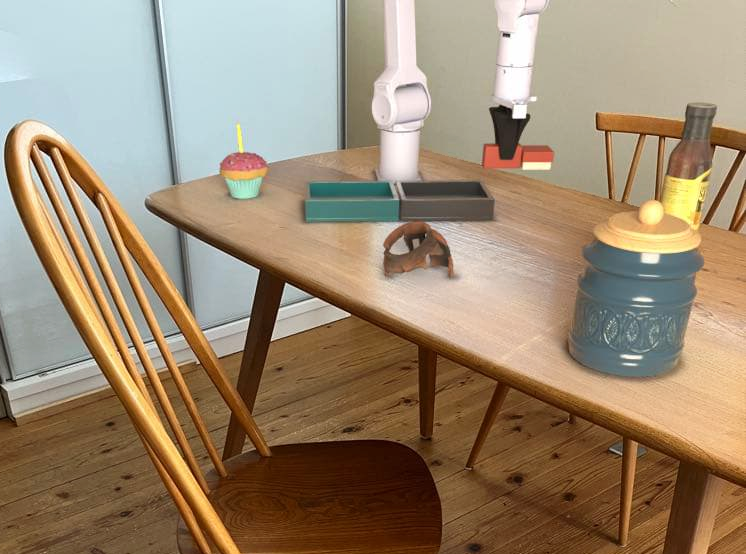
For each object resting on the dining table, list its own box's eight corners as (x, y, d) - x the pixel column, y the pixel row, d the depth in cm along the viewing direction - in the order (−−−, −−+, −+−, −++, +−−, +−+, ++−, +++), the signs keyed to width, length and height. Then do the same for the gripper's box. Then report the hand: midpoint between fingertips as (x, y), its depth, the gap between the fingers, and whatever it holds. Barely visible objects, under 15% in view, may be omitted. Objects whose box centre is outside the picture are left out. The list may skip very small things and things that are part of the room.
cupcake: (214, 191, 161) (209, 118, 153) (259, 186, 163) (256, 114, 156) (230, 204, 154) (225, 129, 147) (277, 198, 157) (274, 124, 150)
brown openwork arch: (464, 288, 124) (444, 242, 118) (401, 316, 127) (378, 272, 121) (449, 238, 132) (429, 193, 126) (389, 266, 134) (367, 222, 128)
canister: (596, 324, 113) (623, 177, 103) (697, 352, 107) (736, 198, 96) (545, 358, 105) (569, 202, 95) (651, 390, 98) (688, 226, 88)
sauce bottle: (695, 255, 134) (730, 110, 122) (652, 252, 135) (682, 108, 123) (690, 242, 139) (723, 101, 127) (649, 239, 140) (677, 99, 128)
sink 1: (305, 201, 156) (304, 181, 154) (392, 201, 156) (392, 180, 154) (305, 222, 147) (305, 200, 145) (398, 221, 147) (399, 199, 145)
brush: (480, 163, 151) (482, 141, 148) (545, 163, 151) (548, 141, 149) (485, 170, 147) (487, 148, 145) (551, 170, 147) (554, 148, 145)
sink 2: (394, 201, 156) (395, 180, 154) (480, 200, 157) (482, 179, 155) (400, 221, 147) (401, 199, 145) (492, 220, 148) (494, 199, 146)
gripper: (551, 72, 134) (538, 168, 142) (530, 57, 146) (519, 146, 154) (504, 72, 134) (494, 168, 142) (486, 57, 146) (478, 146, 154)
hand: (504, 157), depth 148 cm, fingers closed on brush, 2 cm apart
